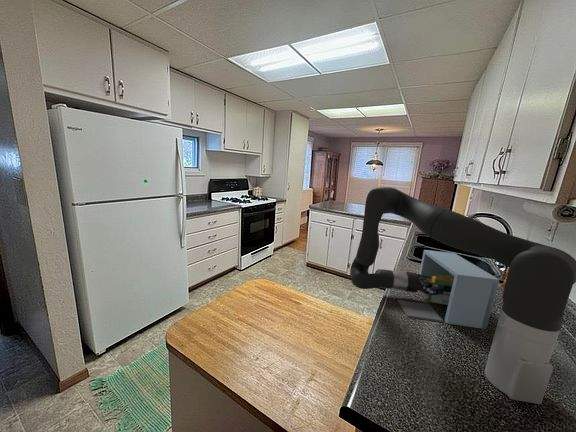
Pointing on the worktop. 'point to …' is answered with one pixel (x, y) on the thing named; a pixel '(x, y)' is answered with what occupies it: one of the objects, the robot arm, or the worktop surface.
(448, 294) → the crayon box
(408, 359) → the worktop surface
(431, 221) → the robot arm
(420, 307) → the mat
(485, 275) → the cubby
